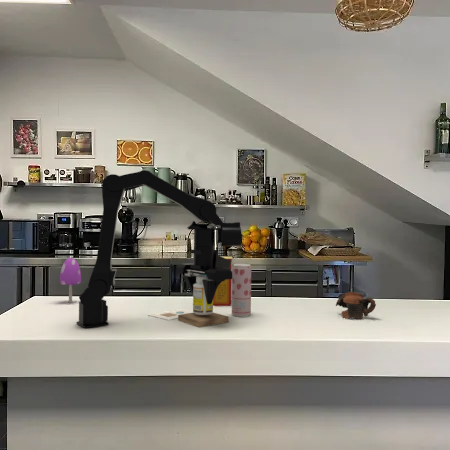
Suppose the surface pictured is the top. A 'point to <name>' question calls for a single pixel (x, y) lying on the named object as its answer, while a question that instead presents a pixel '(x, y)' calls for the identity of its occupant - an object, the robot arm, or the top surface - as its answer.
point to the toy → (70, 275)
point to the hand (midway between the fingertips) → (203, 302)
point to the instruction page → (170, 314)
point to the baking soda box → (224, 291)
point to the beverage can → (241, 290)
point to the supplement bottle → (201, 298)
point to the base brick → (203, 319)
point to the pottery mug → (355, 305)
